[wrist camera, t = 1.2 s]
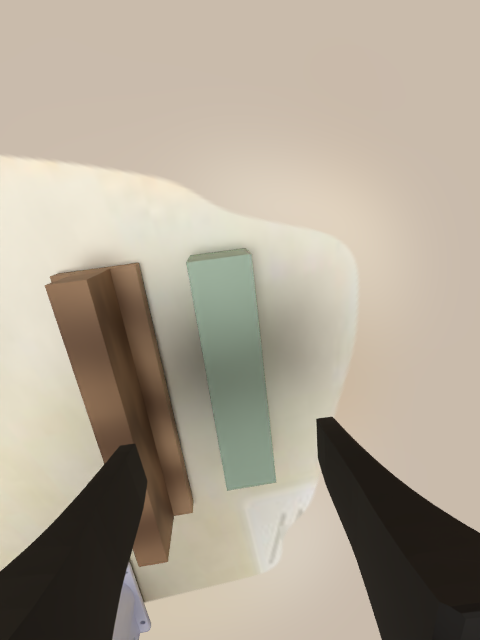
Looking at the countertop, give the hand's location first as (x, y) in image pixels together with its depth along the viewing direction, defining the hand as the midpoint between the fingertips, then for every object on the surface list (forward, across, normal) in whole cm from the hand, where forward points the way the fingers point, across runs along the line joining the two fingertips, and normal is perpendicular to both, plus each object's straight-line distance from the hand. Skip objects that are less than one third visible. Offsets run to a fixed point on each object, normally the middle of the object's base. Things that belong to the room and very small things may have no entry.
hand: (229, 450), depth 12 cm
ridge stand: (+10, +7, +4) cm, 13 cm away
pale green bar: (+10, 0, +2) cm, 10 cm away
